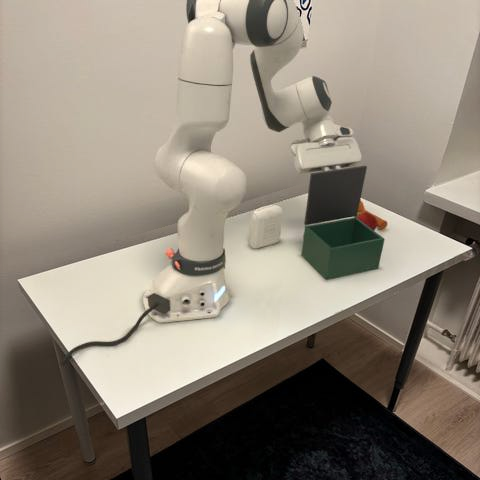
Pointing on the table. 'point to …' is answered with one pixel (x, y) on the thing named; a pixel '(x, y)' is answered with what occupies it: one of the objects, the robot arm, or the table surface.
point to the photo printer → (265, 226)
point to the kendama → (380, 222)
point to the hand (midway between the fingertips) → (334, 183)
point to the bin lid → (334, 194)
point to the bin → (342, 248)
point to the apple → (367, 219)
